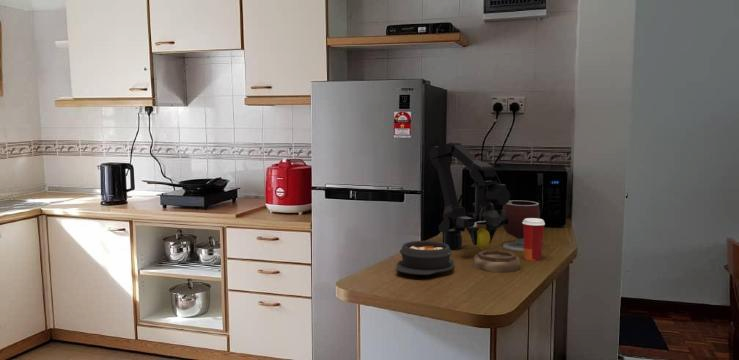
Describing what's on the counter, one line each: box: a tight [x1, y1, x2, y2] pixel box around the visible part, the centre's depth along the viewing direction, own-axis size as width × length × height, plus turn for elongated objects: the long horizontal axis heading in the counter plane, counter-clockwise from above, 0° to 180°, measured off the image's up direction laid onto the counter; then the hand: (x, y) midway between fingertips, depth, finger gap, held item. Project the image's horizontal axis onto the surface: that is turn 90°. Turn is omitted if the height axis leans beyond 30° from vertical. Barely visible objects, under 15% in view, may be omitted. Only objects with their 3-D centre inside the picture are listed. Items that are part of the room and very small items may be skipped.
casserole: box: [395, 240, 455, 276], centre depth 205 cm, size 25×19×8 cm
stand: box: [473, 249, 521, 273], centre depth 211 cm, size 15×15×4 cm
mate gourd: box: [502, 199, 541, 252], centre depth 240 cm, size 16×14×20 cm
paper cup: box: [522, 218, 546, 262], centre depth 221 cm, size 8×8×14 cm
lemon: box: [475, 227, 491, 251], centre depth 224 cm, size 6×6×8 cm
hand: (482, 244), depth 225 cm, fingers closed on lemon, 5 cm apart
